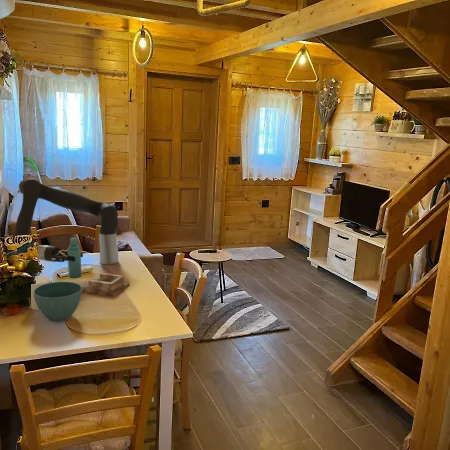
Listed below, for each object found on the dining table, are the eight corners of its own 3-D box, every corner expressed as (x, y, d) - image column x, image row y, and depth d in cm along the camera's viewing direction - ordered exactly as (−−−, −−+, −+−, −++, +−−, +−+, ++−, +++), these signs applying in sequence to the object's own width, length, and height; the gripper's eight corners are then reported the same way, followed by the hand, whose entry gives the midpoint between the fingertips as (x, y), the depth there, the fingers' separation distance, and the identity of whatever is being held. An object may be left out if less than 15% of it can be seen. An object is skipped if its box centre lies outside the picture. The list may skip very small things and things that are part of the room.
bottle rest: (82, 292, 214) (82, 281, 212) (100, 281, 229) (99, 271, 228) (114, 296, 210) (113, 285, 209) (129, 285, 225) (129, 275, 224)
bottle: (76, 273, 227) (74, 236, 222) (84, 275, 223) (82, 238, 219) (65, 276, 222) (64, 238, 217) (74, 279, 218) (72, 241, 214)
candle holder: (48, 311, 191) (46, 284, 189) (24, 310, 191) (23, 283, 189) (56, 302, 201) (55, 276, 198) (34, 301, 201) (33, 275, 198)
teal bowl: (25, 320, 183) (23, 291, 180) (60, 305, 198) (59, 278, 196) (57, 331, 174) (56, 301, 172) (92, 314, 190) (91, 286, 188)
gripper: (38, 250, 216) (70, 253, 212) (56, 242, 229) (86, 245, 225) (39, 265, 218) (70, 269, 214) (57, 256, 231) (87, 260, 227)
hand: (78, 257), depth 220 cm, fingers closed on bottle, 6 cm apart
